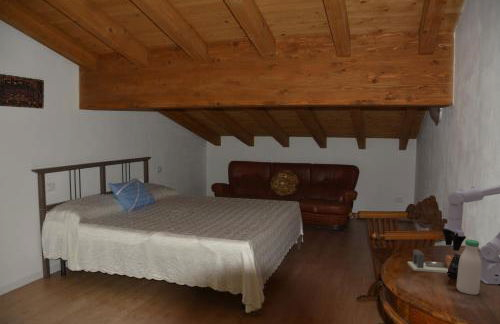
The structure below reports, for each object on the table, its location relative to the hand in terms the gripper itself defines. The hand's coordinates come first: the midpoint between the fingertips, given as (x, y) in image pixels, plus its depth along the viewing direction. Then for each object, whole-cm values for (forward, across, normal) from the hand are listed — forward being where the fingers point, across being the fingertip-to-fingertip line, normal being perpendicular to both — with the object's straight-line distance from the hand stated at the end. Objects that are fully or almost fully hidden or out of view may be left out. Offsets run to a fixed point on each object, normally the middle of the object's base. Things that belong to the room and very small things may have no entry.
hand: (452, 247), depth 171 cm
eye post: (+10, 0, -14) cm, 18 cm away
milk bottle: (+10, +24, -4) cm, 26 cm away
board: (+10, 0, -8) cm, 13 cm away
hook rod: (+9, +1, -5) cm, 10 cm away
